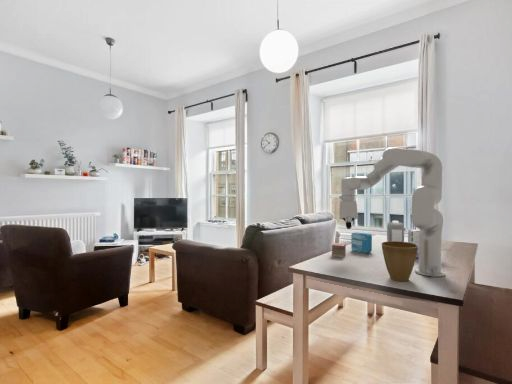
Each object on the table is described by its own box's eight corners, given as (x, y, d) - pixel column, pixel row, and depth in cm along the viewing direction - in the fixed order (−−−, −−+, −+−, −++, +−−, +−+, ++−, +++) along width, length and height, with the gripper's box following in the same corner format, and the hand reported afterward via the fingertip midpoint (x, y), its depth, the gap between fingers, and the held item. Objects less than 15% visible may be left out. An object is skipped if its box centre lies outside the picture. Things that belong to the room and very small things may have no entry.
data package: (351, 250, 196) (351, 232, 196) (354, 249, 199) (355, 231, 199) (368, 253, 187) (368, 234, 187) (371, 252, 190) (372, 234, 190)
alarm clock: (404, 255, 182) (404, 222, 182) (389, 254, 185) (389, 222, 185) (400, 249, 199) (400, 219, 199) (386, 248, 202) (386, 219, 202)
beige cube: (331, 244, 179) (331, 256, 179) (343, 245, 176) (343, 257, 177) (334, 242, 186) (333, 254, 186) (345, 243, 183) (345, 255, 183)
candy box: (431, 256, 179) (431, 229, 178) (436, 259, 173) (436, 231, 173) (407, 256, 180) (407, 229, 180) (411, 258, 174) (411, 230, 174)
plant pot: (383, 272, 146) (383, 240, 145) (418, 277, 138) (418, 243, 138) (378, 280, 133) (379, 245, 133) (416, 286, 125) (417, 248, 125)
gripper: (334, 198, 178) (335, 229, 178) (360, 198, 172) (361, 229, 172) (336, 198, 185) (337, 227, 185) (361, 197, 179) (362, 228, 179)
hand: (348, 228), depth 178 cm, fingers closed
